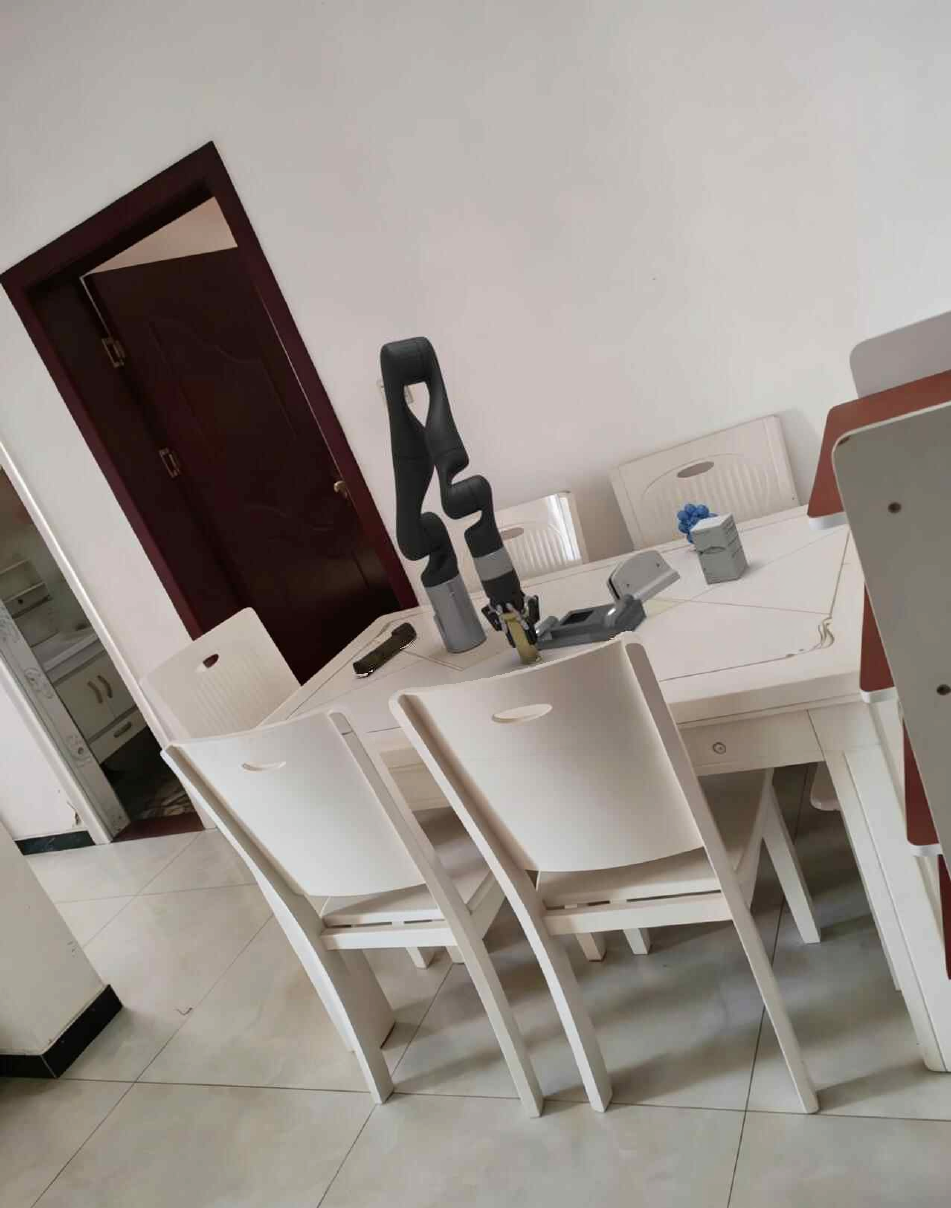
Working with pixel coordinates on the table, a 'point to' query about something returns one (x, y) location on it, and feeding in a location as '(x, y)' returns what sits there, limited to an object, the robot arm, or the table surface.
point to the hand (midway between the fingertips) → (525, 644)
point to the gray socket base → (591, 624)
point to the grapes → (692, 518)
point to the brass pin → (520, 638)
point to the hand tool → (386, 648)
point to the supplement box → (719, 548)
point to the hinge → (641, 576)
